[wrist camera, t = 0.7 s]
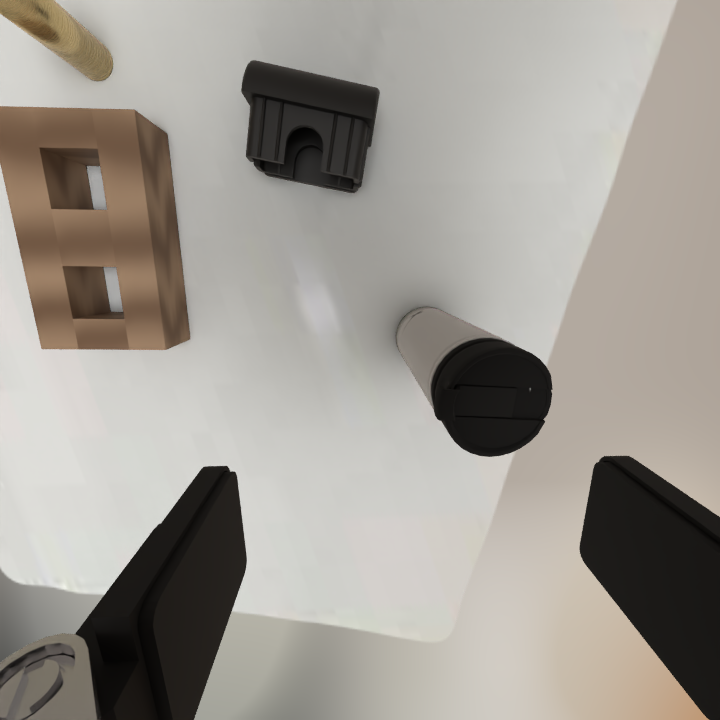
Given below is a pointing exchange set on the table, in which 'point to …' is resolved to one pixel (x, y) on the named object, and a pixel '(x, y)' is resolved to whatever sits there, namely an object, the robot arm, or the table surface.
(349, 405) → the table surface
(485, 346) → the travel mug
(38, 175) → the hole block
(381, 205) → the table surface
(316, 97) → the end cap
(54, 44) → the brass peg
